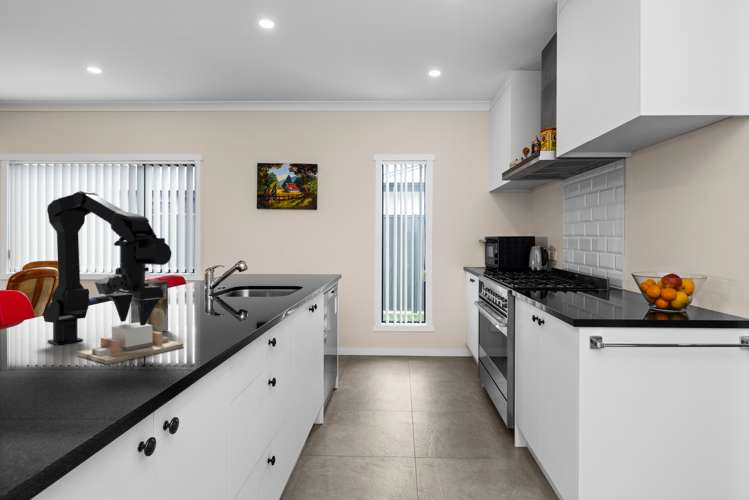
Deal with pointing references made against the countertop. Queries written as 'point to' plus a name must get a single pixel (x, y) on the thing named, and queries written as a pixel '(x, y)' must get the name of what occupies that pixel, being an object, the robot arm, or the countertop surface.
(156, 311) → the coffee box
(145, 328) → the block
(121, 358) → the rail board
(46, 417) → the countertop surface
